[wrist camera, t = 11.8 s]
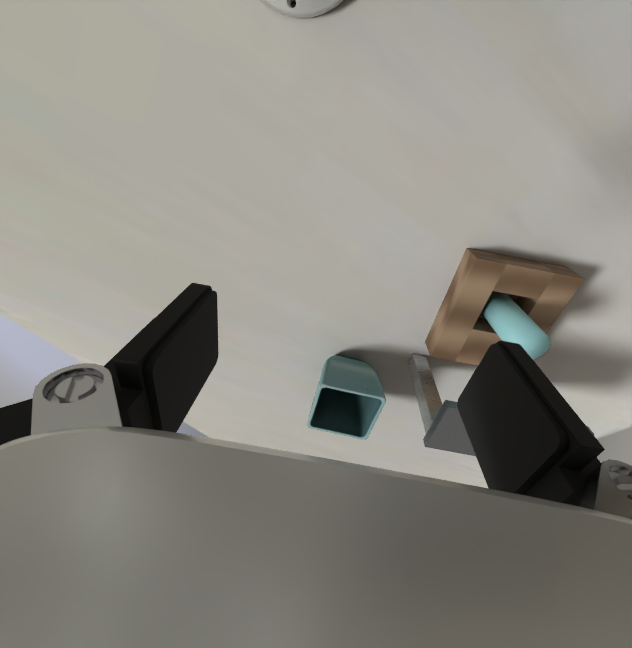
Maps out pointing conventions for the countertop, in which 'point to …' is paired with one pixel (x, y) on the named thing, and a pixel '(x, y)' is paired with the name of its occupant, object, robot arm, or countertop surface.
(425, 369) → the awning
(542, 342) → the peg
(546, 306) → the socket
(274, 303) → the countertop surface
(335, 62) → the countertop surface
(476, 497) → the robot arm
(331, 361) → the flower pot
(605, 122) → the countertop surface
